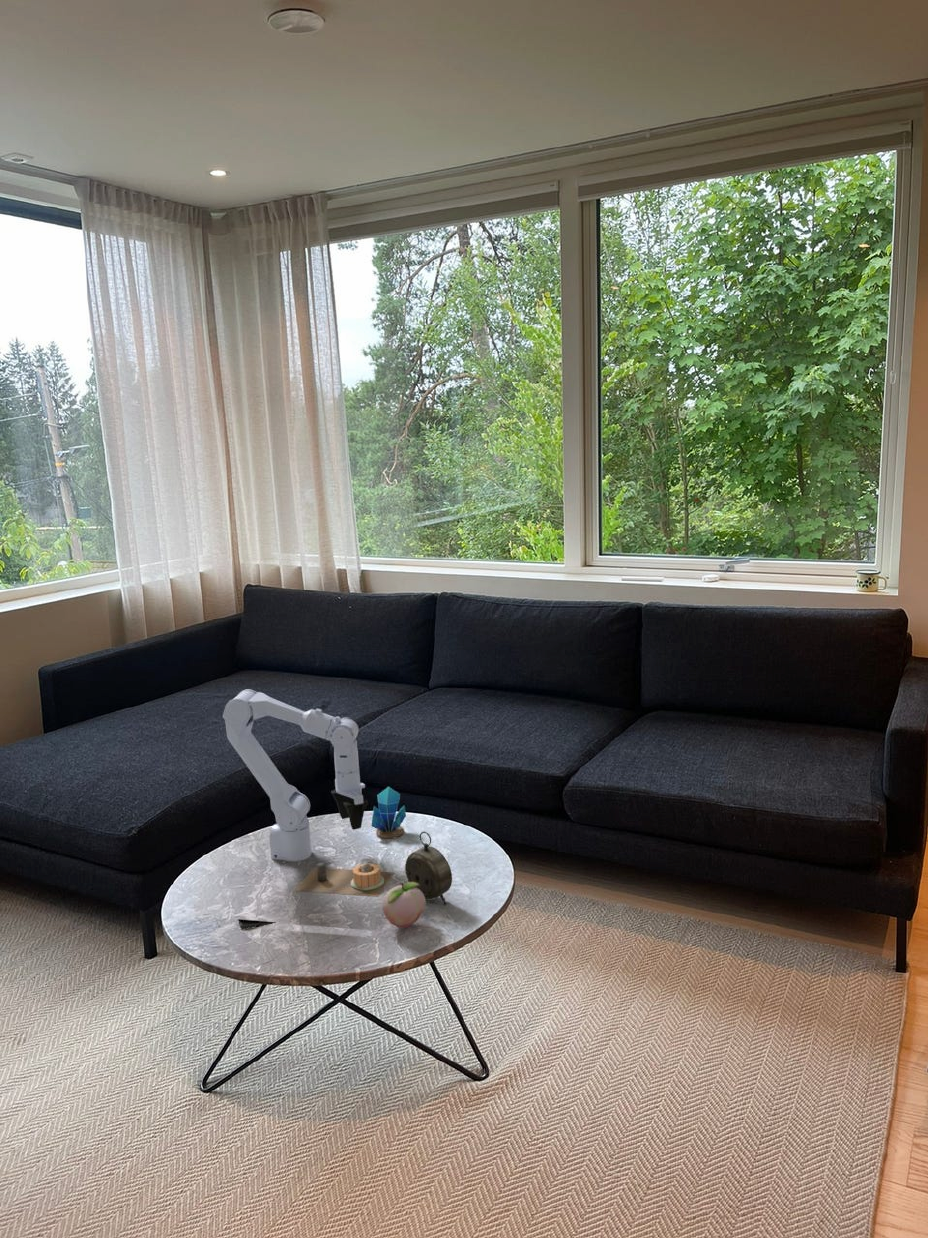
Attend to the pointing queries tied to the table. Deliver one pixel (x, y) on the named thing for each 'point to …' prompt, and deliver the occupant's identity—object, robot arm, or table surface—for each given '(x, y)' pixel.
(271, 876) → the table surface
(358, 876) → the ring
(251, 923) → the black wedge
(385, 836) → the gemstone
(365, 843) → the table surface
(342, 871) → the stand board
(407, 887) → the decorative fruit
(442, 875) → the alarm clock
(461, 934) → the table surface
